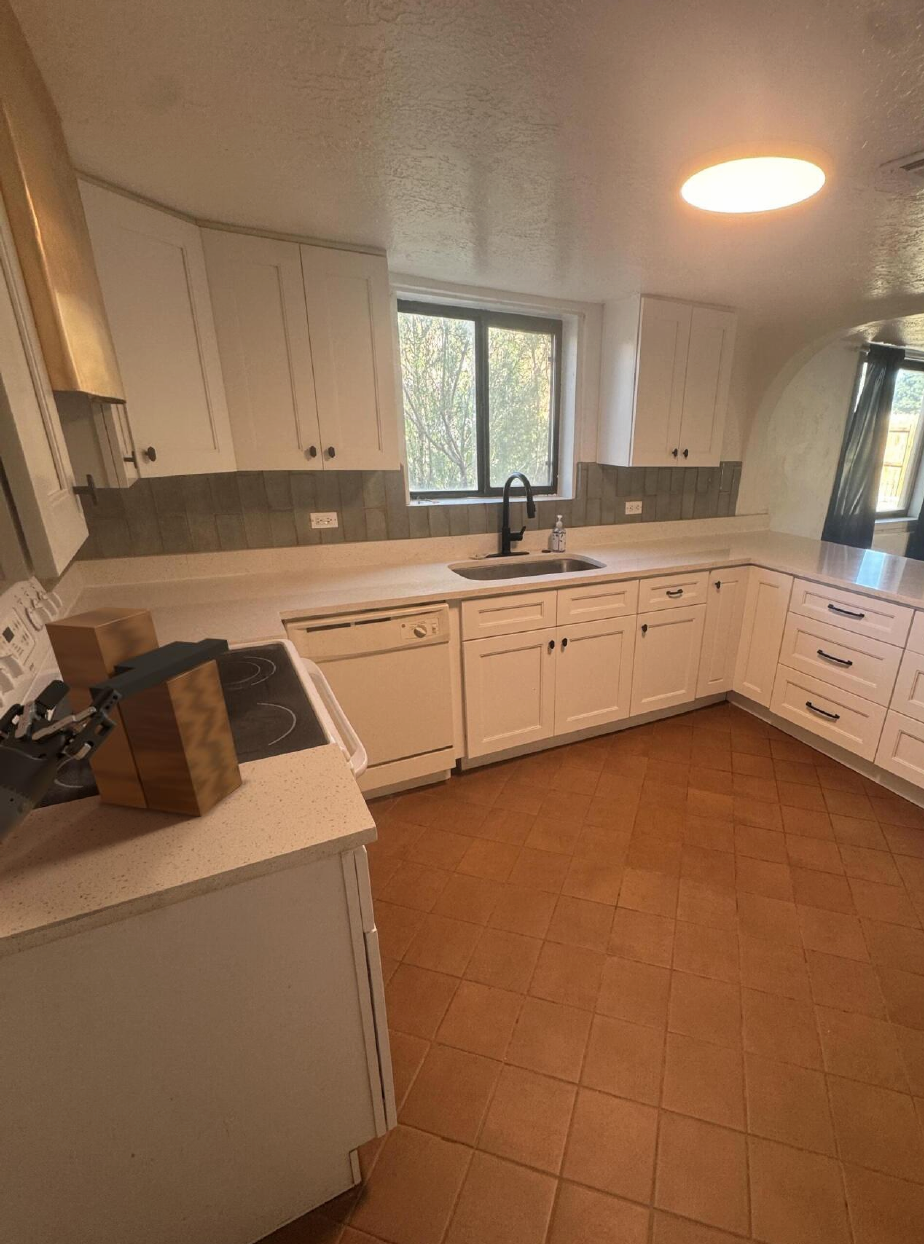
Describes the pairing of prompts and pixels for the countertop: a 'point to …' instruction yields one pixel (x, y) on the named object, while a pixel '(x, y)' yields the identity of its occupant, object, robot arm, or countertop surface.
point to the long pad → (163, 668)
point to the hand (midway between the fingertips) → (88, 685)
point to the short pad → (150, 656)
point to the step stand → (149, 717)
